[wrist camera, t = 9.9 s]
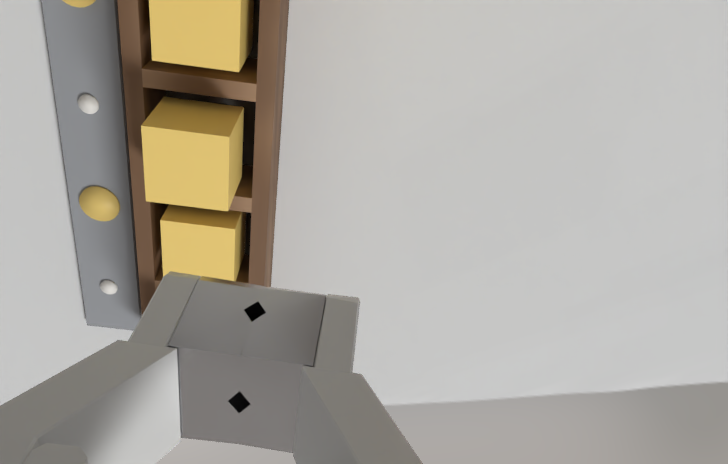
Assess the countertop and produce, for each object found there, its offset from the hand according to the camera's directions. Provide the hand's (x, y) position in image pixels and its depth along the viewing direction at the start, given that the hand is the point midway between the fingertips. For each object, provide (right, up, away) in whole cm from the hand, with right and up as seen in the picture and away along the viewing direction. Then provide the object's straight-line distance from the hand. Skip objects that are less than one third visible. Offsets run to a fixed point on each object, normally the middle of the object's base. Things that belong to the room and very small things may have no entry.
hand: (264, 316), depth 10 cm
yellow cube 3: (-8, +2, +32) cm, 33 cm away
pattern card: (-15, +6, +30) cm, 35 cm away
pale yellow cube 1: (-7, +14, +24) cm, 29 cm away
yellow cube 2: (-8, +7, +26) cm, 28 cm away
